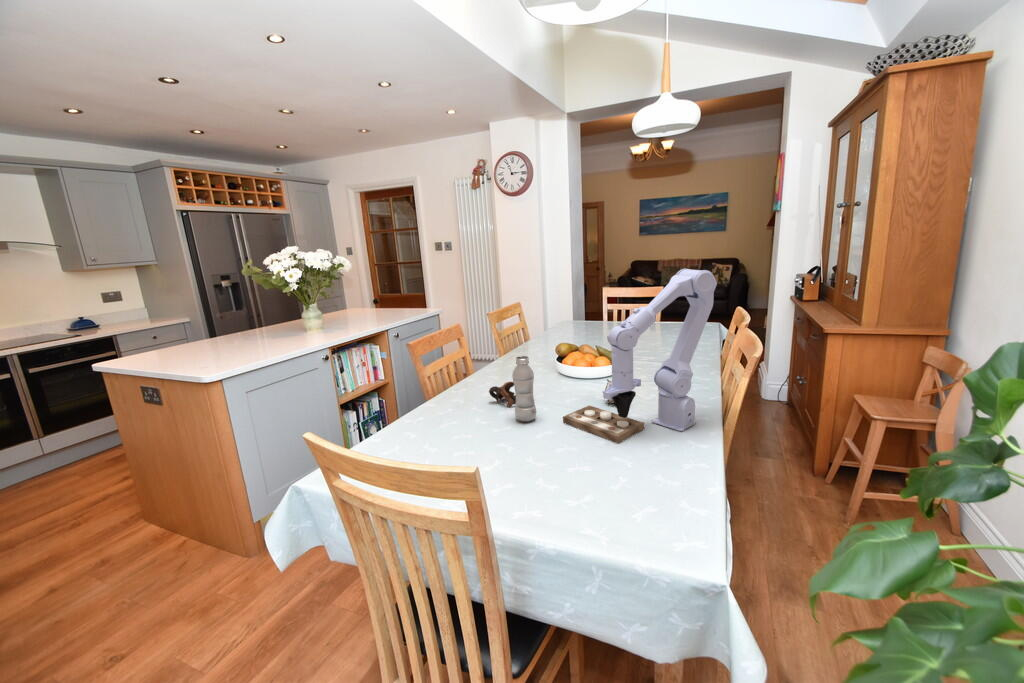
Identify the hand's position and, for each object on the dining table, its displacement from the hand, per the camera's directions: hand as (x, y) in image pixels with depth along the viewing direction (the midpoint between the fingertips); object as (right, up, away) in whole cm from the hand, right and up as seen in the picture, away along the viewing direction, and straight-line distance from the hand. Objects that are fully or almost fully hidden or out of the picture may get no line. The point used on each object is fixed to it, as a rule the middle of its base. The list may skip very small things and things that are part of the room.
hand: (623, 416), depth 123 cm
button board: (-5, -4, +5) cm, 8 cm away
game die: (+3, +1, +21) cm, 21 cm away
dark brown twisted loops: (-33, 0, +28) cm, 43 cm away
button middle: (-4, -2, +5) cm, 7 cm away
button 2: (0, -4, +1) cm, 4 cm away
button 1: (-8, -2, +10) cm, 13 cm away
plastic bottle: (-27, -3, +12) cm, 30 cm away
